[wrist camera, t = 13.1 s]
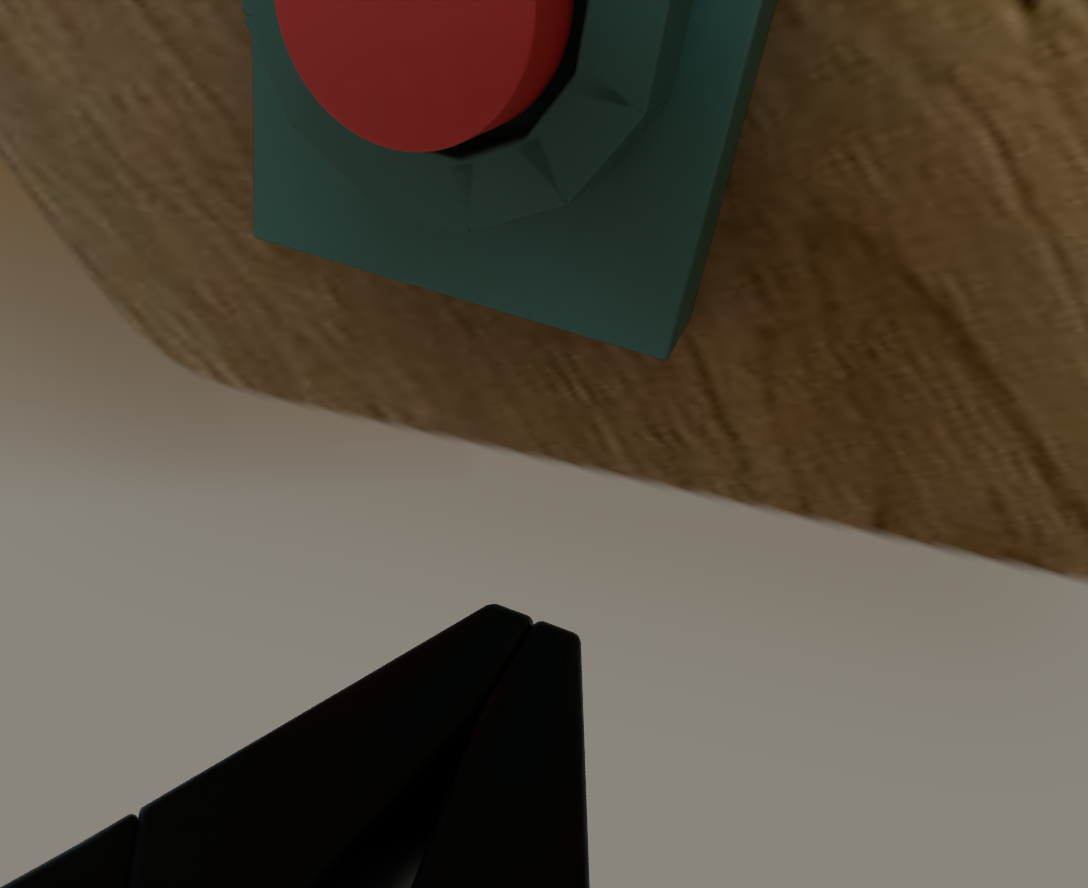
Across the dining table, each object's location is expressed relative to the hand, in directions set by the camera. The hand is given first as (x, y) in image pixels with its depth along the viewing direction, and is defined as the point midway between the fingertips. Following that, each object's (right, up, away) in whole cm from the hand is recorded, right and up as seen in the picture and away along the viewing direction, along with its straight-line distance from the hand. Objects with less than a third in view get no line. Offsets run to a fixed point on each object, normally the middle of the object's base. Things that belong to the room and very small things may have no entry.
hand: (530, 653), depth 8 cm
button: (-1, +9, +6) cm, 11 cm away
